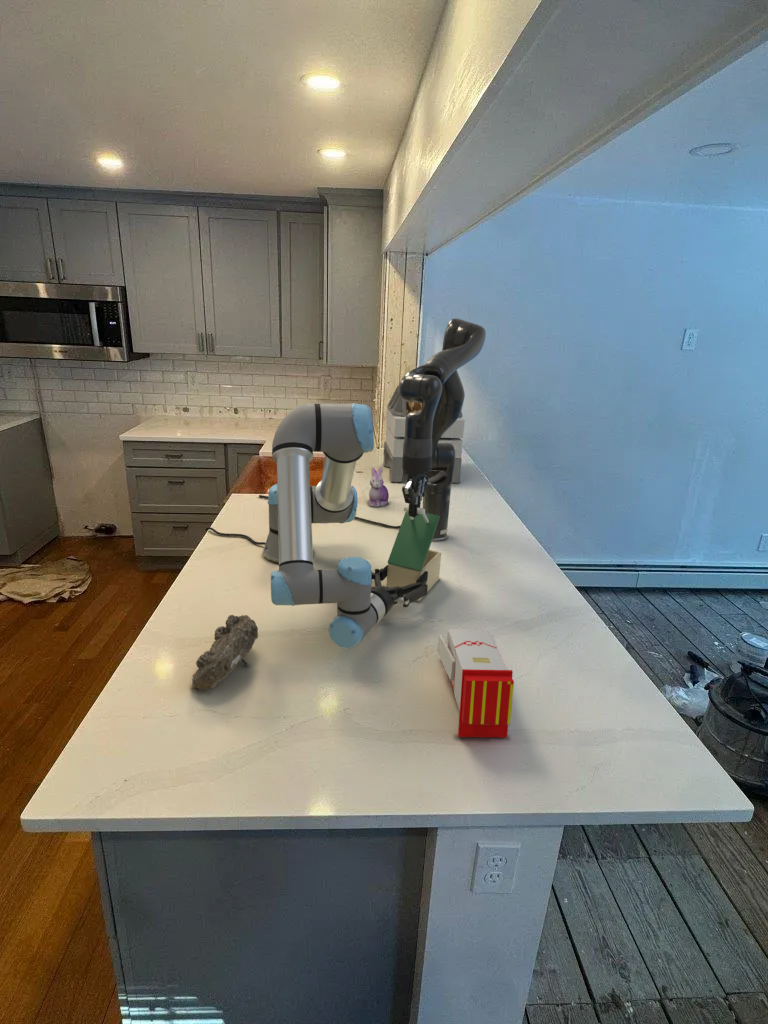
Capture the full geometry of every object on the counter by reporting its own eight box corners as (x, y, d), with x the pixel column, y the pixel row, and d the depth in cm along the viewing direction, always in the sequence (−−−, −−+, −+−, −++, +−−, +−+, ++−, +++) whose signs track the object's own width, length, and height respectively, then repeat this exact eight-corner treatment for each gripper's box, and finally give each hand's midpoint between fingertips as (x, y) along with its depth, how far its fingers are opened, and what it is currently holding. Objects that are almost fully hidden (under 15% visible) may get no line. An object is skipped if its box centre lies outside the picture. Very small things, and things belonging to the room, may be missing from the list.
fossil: (211, 617, 133) (257, 588, 128) (239, 645, 136) (285, 617, 131) (171, 683, 114) (223, 651, 109) (205, 714, 117) (257, 684, 112)
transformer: (382, 463, 289) (386, 382, 275) (445, 464, 293) (451, 384, 279) (390, 482, 257) (394, 392, 243) (460, 483, 261) (468, 394, 247)
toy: (488, 613, 130) (523, 677, 101) (484, 667, 133) (517, 744, 104) (435, 612, 130) (455, 676, 101) (432, 666, 133) (451, 743, 103)
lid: (407, 510, 161) (399, 497, 154) (440, 517, 157) (434, 503, 151) (388, 563, 155) (379, 552, 148) (421, 571, 152) (414, 560, 145)
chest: (408, 571, 172) (409, 545, 169) (439, 579, 168) (441, 552, 165) (386, 593, 158) (387, 564, 155) (419, 601, 154) (421, 572, 151)
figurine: (373, 508, 223) (374, 472, 218) (362, 500, 232) (363, 465, 226) (394, 505, 227) (396, 469, 222) (382, 498, 236) (384, 463, 231)
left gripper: (332, 608, 143) (371, 574, 163) (414, 631, 135) (445, 593, 154) (332, 581, 141) (372, 550, 160) (416, 603, 132) (448, 568, 151)
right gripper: (420, 461, 139) (417, 526, 146) (440, 448, 151) (436, 509, 157) (393, 457, 142) (390, 521, 148) (414, 445, 154) (411, 504, 160)
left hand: (408, 571), depth 157 cm, fingers closed on chest, 10 cm apart
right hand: (414, 514), depth 153 cm, fingers closed, pressing on lid
